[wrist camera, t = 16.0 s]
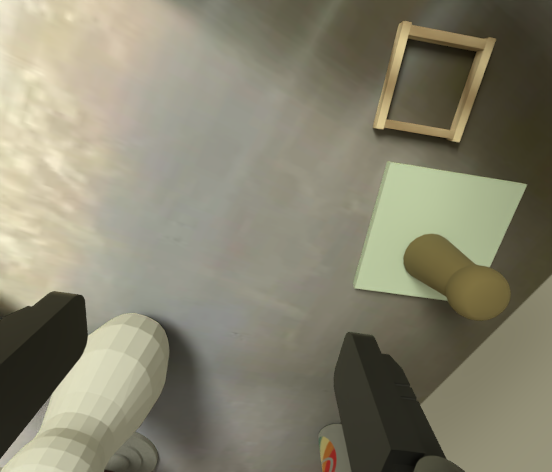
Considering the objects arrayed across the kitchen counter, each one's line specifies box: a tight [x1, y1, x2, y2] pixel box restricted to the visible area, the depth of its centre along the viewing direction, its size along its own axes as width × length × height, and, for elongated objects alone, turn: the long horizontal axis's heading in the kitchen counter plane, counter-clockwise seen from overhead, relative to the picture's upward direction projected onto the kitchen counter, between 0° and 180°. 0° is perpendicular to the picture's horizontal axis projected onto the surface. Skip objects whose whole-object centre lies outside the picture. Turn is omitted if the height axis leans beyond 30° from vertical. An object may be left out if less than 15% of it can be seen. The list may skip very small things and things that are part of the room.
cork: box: [403, 234, 511, 321], centre depth 32 cm, size 6×6×11 cm
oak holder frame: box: [373, 21, 496, 142], centre depth 31 cm, size 10×9×1 cm
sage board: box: [353, 161, 527, 301], centre depth 37 cm, size 16×16×1 cm
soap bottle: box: [1, 313, 170, 472], centre depth 30 cm, size 17×12×29 cm
